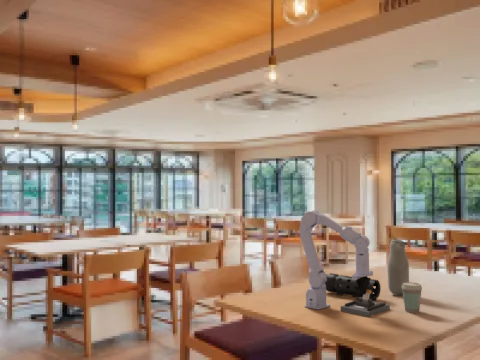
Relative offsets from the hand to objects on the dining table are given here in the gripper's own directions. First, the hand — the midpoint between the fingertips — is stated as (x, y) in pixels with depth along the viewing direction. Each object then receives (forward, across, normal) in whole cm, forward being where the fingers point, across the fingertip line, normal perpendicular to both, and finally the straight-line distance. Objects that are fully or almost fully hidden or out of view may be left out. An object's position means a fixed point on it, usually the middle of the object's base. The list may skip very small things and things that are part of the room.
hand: (362, 294), depth 203 cm
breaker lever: (+3, +2, 0) cm, 4 cm away
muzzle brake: (+8, +20, +19) cm, 28 cm away
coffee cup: (+8, +14, -16) cm, 22 cm away
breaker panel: (+7, +2, 0) cm, 8 cm away
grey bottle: (+8, +39, +3) cm, 40 cm away
